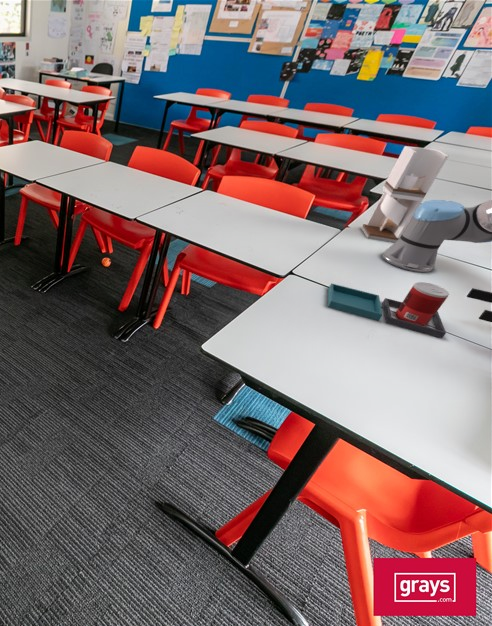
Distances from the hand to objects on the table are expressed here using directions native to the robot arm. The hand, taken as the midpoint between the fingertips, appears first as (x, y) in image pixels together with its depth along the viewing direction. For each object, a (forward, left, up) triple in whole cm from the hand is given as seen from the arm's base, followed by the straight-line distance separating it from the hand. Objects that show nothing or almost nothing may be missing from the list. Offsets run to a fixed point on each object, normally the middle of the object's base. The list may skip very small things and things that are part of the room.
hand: (475, 303), depth 117 cm
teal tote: (0, -25, -10) cm, 27 cm away
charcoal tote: (0, -10, -10) cm, 14 cm away
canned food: (0, -10, -10) cm, 14 cm away
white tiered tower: (-74, -13, -10) cm, 76 cm away
